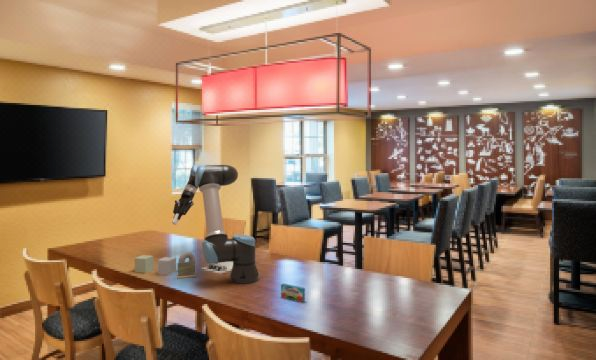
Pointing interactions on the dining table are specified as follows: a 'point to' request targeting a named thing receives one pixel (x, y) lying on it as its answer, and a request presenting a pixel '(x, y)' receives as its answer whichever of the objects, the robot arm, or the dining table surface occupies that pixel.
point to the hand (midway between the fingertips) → (174, 223)
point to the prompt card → (186, 270)
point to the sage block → (144, 264)
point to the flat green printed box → (293, 292)
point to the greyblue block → (166, 266)
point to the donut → (186, 255)
